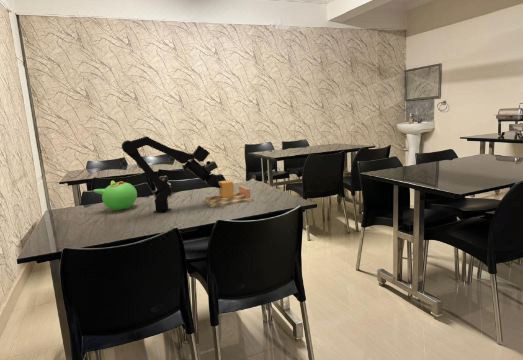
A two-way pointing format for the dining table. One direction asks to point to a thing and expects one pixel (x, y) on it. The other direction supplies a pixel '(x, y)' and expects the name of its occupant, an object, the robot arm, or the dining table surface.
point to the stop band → (244, 191)
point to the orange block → (226, 189)
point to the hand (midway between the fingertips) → (220, 187)
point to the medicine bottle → (167, 182)
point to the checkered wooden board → (226, 200)
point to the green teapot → (118, 195)
